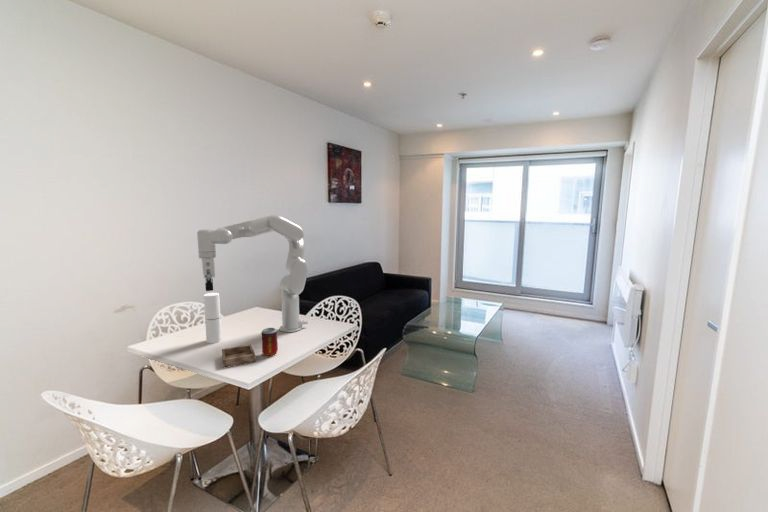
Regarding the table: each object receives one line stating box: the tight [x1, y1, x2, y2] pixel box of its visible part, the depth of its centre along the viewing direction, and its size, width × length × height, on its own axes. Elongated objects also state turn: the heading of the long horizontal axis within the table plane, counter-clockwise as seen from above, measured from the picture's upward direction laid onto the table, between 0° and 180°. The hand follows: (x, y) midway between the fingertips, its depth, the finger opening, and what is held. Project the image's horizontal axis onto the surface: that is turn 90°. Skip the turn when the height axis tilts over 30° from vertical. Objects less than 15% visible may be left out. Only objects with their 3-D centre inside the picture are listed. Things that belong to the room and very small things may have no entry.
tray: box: [221, 344, 256, 368], centre depth 157 cm, size 13×13×4 cm
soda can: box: [261, 327, 279, 357], centre depth 162 cm, size 7×7×12 cm
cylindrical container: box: [203, 292, 223, 344], centre depth 177 cm, size 7×7×25 cm
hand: (209, 288), depth 170 cm, fingers open, 9 cm apart
